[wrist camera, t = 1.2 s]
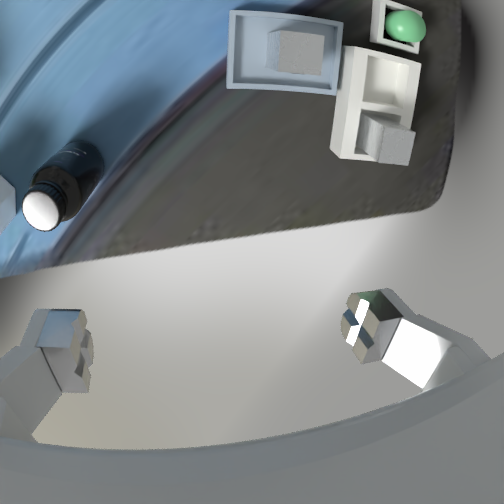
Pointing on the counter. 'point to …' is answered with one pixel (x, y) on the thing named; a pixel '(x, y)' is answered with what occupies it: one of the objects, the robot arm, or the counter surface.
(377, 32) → the button housing
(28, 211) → the supplement bottle
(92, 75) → the counter surface
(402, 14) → the button
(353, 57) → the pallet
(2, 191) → the jar
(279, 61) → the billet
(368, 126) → the block
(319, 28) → the tote
